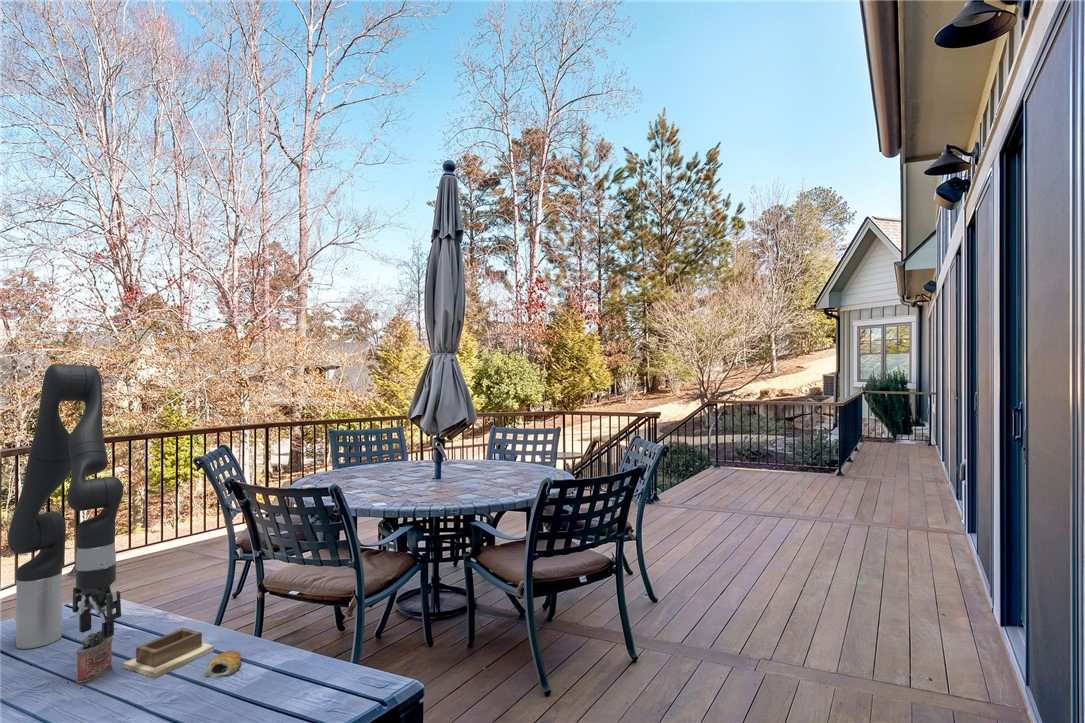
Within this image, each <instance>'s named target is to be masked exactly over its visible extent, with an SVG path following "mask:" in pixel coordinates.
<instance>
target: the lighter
mask: <svg viewBox="0 0 1085 723" xmlns="http://www.w3.org/2000/svg"><path fill="white" fill-rule="evenodd" d="M81 640H82V641H81V644H82V646H81V647H80V648H78V649H77V650H76V654H75V655H77V663H76V664H77V666H76V667H77V671H76V672H77V674H76V675H77V678H76V680H75V681H76V682H75V683H76V685H77V686H83V685H87V684H88V683H89V684H90V683H91V682H94V681H96V680H99V678H101V677H103V676H104V675H106V674H108V673H110V672H111V671H113V664H112V653H113V652H112V650H113V649H112V646H113V645H112V644H113V643H112V642H113V640H114V639H113V636H111V637H109V638H106V639H104V638H102V629H101V630H98V631H97V632H91V633H89V634H88V635H87V637H84V638H82V639H81ZM109 671H110V672H109Z"/></svg>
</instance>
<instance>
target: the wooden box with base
mask: <svg viewBox="0 0 1085 723" xmlns="http://www.w3.org/2000/svg"><path fill="white" fill-rule="evenodd" d="M135 649H136V651H135V657H134V658H131V659H129V660H127V661H124V662H122V669H125V670H127V669H128V670H127V671H131V672H134V671H135V672H134V673H137V672H138V673H137V674H140V673H141V675H143V674H144V675H143V676H146V675H147V677H150V678H153V679H157V678H159V677H161V676H163V675H165V674H168V673H169V672H172V671H174V670H175V669H178V668H180V667H182V666H184V665H186V664H187V665H188V664H189V663H192V662H193V661H195V660H197V659H199V658H202V657H204V656H205V655H209V654H210V653H212V652H214V651H215V645H212V644H209V643H205V642H203V633H202V631H201V632H200V631H197V630H193V629H189V628H185V627H183V628H180V629H178V630H175V631H173V632H170V633H167V634H165V635H163V636H161V637H159V638H156V639H154V640H151V641H148V642H146V643H144V644H141V645H139V646H136V648H135ZM173 669H174V670H173Z"/></svg>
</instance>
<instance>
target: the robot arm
mask: <svg viewBox="0 0 1085 723" xmlns="http://www.w3.org/2000/svg"><path fill="white" fill-rule="evenodd" d="M61 402H83V403H84V412H83V414H82V416H81V418H80V419H79V421H78V422H77V424H76V425H75V427H74V428H73V430H72V431H71V434H70V432H69V431H68V430H67V428H66V427H65V425H64V423H63V421H62V419H61V416H60V413H59V412H60V410H59V409H60V403H61ZM103 430H104V429H103V385H102V377H101V374H100V371H99V370H98V369H97V368H96V367H95V366H92V365H83V364H82V365H81V364H67V363H66V364H64V363H55V364H54V363H52V364H50V365H49V366H48V367H47V368H46V371H45V373H44V376H43V379H42V385H41V392H40V401H39V408H38V414H37V422H36V426H35V430H34V434H33V438H32V442H31V444H30V445H31V446H30V450H29V452H28V459H27V462H26V466H25V474H24V478H23V482H22V488H21V491H20V495H19V497H18V501H17V503H16V507H15V510H14V513H13V515H12V518H11V522H10V525H9V528H8V532H7V533H8V534H7V543H8V547H9V549H10V551H11V552H13V553H14V554H19V555H21V554H27V553H32V552H36V551H38V552H37V554H36V555H35V556H34V557H33V558H32V559H29V560H28V561H26V562H24V563H23V564H22V565H20V566H19V567H18V568H17V569H16V573H15V574H16V578H15V579H16V583H15V584H16V587H15V588H16V590H15V591H16V592H15V593H16V596H15V597H16V600H15V601H16V602H15V603H16V606H15V646H16V648H17V649H21V650H22V649H24V650H25V649H26V650H27V649H34V648H40V647H44V646H47V645H50V644H53V643H54V642H57V641H59V640H60V639H61V638H62V633H63V632H62V631H63V628H62V626H63V625H62V624H63V616H62V615H63V565H64V562H65V552H66V550H65V549H66V537H67V527H66V526H67V524H66V521H65V519H64V516H63V515H62V514H61V513H60V512H58V511H48V512H43V513H40V511H41V510H42V507H43V506H44V505H45V503H46V501H47V500H48V499H49V498H50V497H51V496H52V495H53V494H54V493H55V491H57V490H58V489H59V487H61V486H62V484H63V483H64V482H65V481H66V480H67V478H68V477H69V476H70V482H69V486H68V490H67V494H66V502H67V505H68V506H69V507H70V508H71V509H72V510H74V511H76V512H83V511H90V510H96V509H101V511H100V512H99V513H98V514H97V515H96V516H93V517H91V518H88V519H85V520H83V521H81V522H79V523H78V524H77V526H76V527H77V528H76V555H75V587H73V588H72V613H73V614H74V613H76V616H77V618H78V620H79V624H78V625H79V627H78V628H79V633H82V634H84V633H86V632H90V630H92V611H93V610H94V611H95V614H96V615H99V618H100V620H101V630H102V638H104V639H106V638H109V637H113V636H114V634H115V620H116V619H119V618H121V617H122V603H121V592H120V591H119V590H116V591H114V592H113V591H112V590H111V585H112V584H113V583H114V582H116V580H117V551H116V545H115V543H116V542H115V523H116V518H117V515H118V511H119V508H120V505H121V502H122V499H123V496H124V484H123V482H122V481H121V479H120V478H118V477H117V476H102V477H96V478H88V477H90V476H94V475H96V474H99V473H101V472H103V471H105V470H106V469H107V468H108V466H109V459H108V454H107V449H106V444H105V438H104V432H103ZM70 474H71V475H70ZM86 478H87V479H86Z"/></svg>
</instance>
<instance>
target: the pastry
mask: <svg viewBox="0 0 1085 723" xmlns="http://www.w3.org/2000/svg"><path fill="white" fill-rule="evenodd" d="M241 660H242V657H241V653H240V652H239V651H237V650H236V651H234V650H227V651H224V652H222V653H219V654H217V655H215V656H213V658H212V659H210V661H208V663H207V666H206V667H207V668H206V670H204V674H205V675H206V676H207V677H208V678H216V677H222V676H225V675H226V676H229V675H232V674H234V673H236V672H237V670H238V669H239V668H240V664H241V662H242V661H241Z"/></svg>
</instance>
